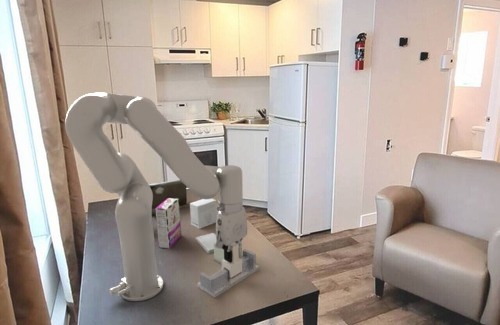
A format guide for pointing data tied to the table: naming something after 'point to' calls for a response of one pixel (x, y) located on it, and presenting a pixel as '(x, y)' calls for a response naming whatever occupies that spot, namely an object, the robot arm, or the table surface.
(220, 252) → the hollow cube
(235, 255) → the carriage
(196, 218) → the skincare box
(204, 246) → the hard drive
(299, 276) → the table surface
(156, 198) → the radio
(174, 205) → the candy bar box
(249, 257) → the guide rail
